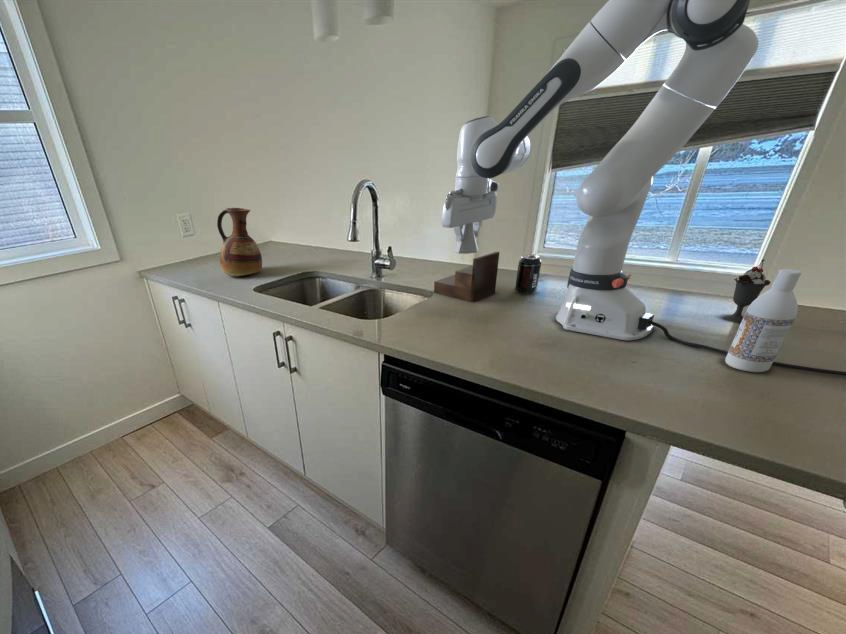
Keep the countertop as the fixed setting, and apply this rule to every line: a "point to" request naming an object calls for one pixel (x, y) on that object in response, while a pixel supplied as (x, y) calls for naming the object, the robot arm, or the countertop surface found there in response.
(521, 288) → the beverage can
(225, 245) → the ceramic pitcher
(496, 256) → the spice rack
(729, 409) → the countertop surface
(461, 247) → the flask
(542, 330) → the countertop surface
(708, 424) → the countertop surface
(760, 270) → the sundae
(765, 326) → the bath foam
